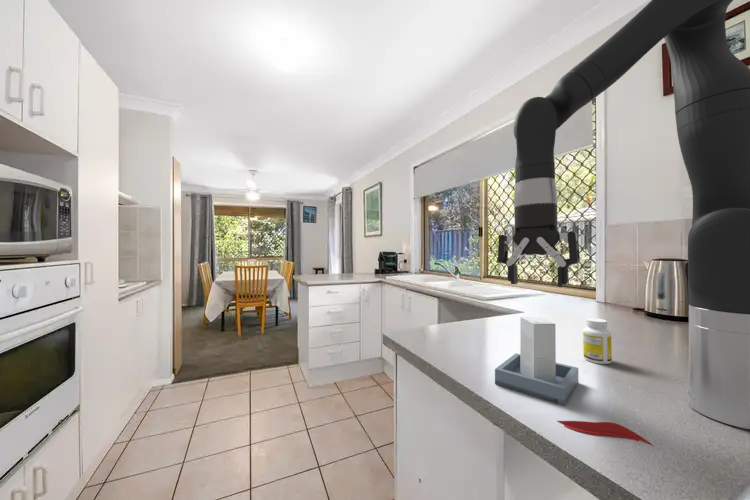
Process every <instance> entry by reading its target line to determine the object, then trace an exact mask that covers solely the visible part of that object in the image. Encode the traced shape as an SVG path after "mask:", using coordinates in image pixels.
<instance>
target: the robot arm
mask: <svg viewBox="0 0 750 500" xmlns="http://www.w3.org/2000/svg"><path fill="white" fill-rule="evenodd" d="M732 2H734V0H650V1H649V2H648V4H646V5H645V6H644V7H643V8H642V9H641V10H640V11H639V12H638V13H637V14H636V15H634V17H632V18H631V19H630V20H629V21H628V22H626V24H624V25H623V26H622V27H621V28H620V29H619V30H617V31H616V32H615V33H614V34H613V35H612V36H610V37H609V38H608V39H607V40H606V41H605V42H603V43H602V44H601V45H600V46H598V48H596V49H595V50H593V51H592V52H591V53H589V54H588V55H587V56H586V57H584V58H583V60H581V61H580V62H579V63H577V64H576V65H575V66H573V68H572V69H570V70H568V71H567V73H566V74H564V75H562V77H560V79H559V80H558V81H556V83H555V85H554V86H553V88H552V89H551V91H550V92H549V93H548V94H547V95H546V96H544V97H543V96H536V97H535V96H534V97H530V98H529V99H527V100H525V101H524V102H523V103H522V105H520V106H519V108H518V109H517V111H516V114H515V117H514V125H513V135H514V138H515V142H516V158H515V164H514V180H515V181H514V183H515V184H514V185H515V186H514V196H513V207H514V209H513V210H514V233H513V235H507V234H500V235H499V236H498V245H497V246H498V248H497V249H498V250H497V262H498V263H499V264H500V263H501V264H503V265H506V266H507V267H506V268H507V279H508V280H507V281H508V282H510V285H517V284H518V283H519V277H518V275H519V271H518V265H517V264H518V262H519V261H520V259H522V258H524V256H525V255H526V256H533V255H539V256H540V255H541V256H545V255H548V256H549V257H550V258H551V259H552V260H553V261H555V263H556V264H557V265H558V266H559V267H557V287H559V288H564V287H565V285H566V284H567V285H568V283H569V269H570V266H571V265H575V264H579V263H580V262H581V256H580V245H579V237H578V236H579V235H578V232H576V231H572V230H571V231H568V232H562V233H561V232H559V229H558V190H557V184H556V168H555V167H556V164H555V162H556V161H555V143H556V136H557V135H556V134H557V133H556V132H557V130H558V129H559V128H560V127H561V126H563V125H564V123H566V122H567V121H568V120H569V119H571V117H572V116H573V115H574V114H576V112H578V111H579V110H580V109H581V108H583V107H584V106H586V105H588V104H589V103H590V102H592V100H594V99H596V98H597V97H598V96H599V95H601V94H602V93H604V92H605V91H606V90H608V89H609V88H610V87H611V86H612V85H614V84H615V83H616V82H618V80H620V79H621V78H622V77H623V76H624V75H625V74H626V73H627V72H628V71H629V70H631V68H633V67H634V66H635V65H637V63H638V62H639V61H640V60H641V59H643V57H644V56H645V55H646V54H647V53H649V52H650V50H652V49H653V48H654V47H655V46H656V45H657V44H659V43H660V42H661V41H662V40H663V39H664V41H665V44H666V49H667V51H668V52H667V53H668V56H669V60H670V61H669V62H670V65H671V78H672V79H671V80H672V88H673V89H672V90H673V99H674V116H675V124H676V132H677V139H678V145H679V148H680V152H681V156H682V161H683V163H684V166H685V169H686V172H687V175H688V179H689V182H690V185H691V186H690V187H691V191H692V193H691V194H692V222H691V228H690V229H689V232H688V236H687V289H688V392H687V393H688V404H689V406H690V408H692V409H693V410H695V411H696V412H697V413H700V414H701V415H703V416H705V417H708V418H710V419H712V420H715V421H718V422H720V423H723V424H727V425H730V426H733V427H737V428H740V429H746V430H750V67H749V66H748V65H746V63H744V62H743V61H742V60H740V59H739V58H738V57H737V56H735V55H734V53H733V52H732V51H731V50H730V47H729V45H728V41H727V40H728V39H727V32H726V16H727V10H728V7H729V6H730V4H732ZM561 239H562V240H563V242H564V243H565V244H567V245H568V256H569V258H566V257H565V256H564V255H563V254H562V253H561V251H560V250H559V249H558V248H557V246H556V245H557V244H558V243H559V242H560V240H561ZM512 242H513V243H514V244H515V245H516V246H517V247H516V248H515V249H514V251H513V252H512V253H511V256H510V257H509V246H510V245H511V244H512Z"/></svg>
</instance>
